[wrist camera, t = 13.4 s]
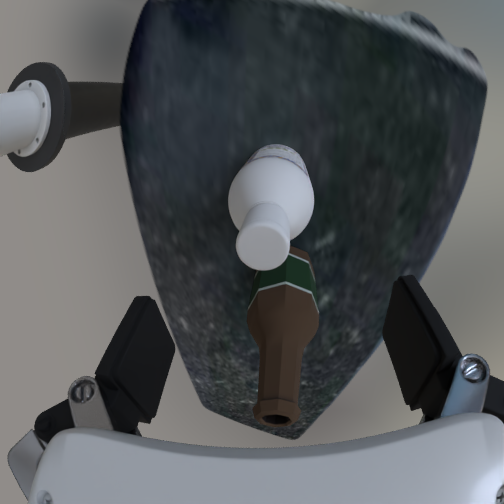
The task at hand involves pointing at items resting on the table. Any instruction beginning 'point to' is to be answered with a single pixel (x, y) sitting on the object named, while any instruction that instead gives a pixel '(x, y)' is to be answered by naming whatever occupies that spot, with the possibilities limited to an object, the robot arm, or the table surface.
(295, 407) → the beer bottle
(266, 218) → the bath foam
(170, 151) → the table surface
